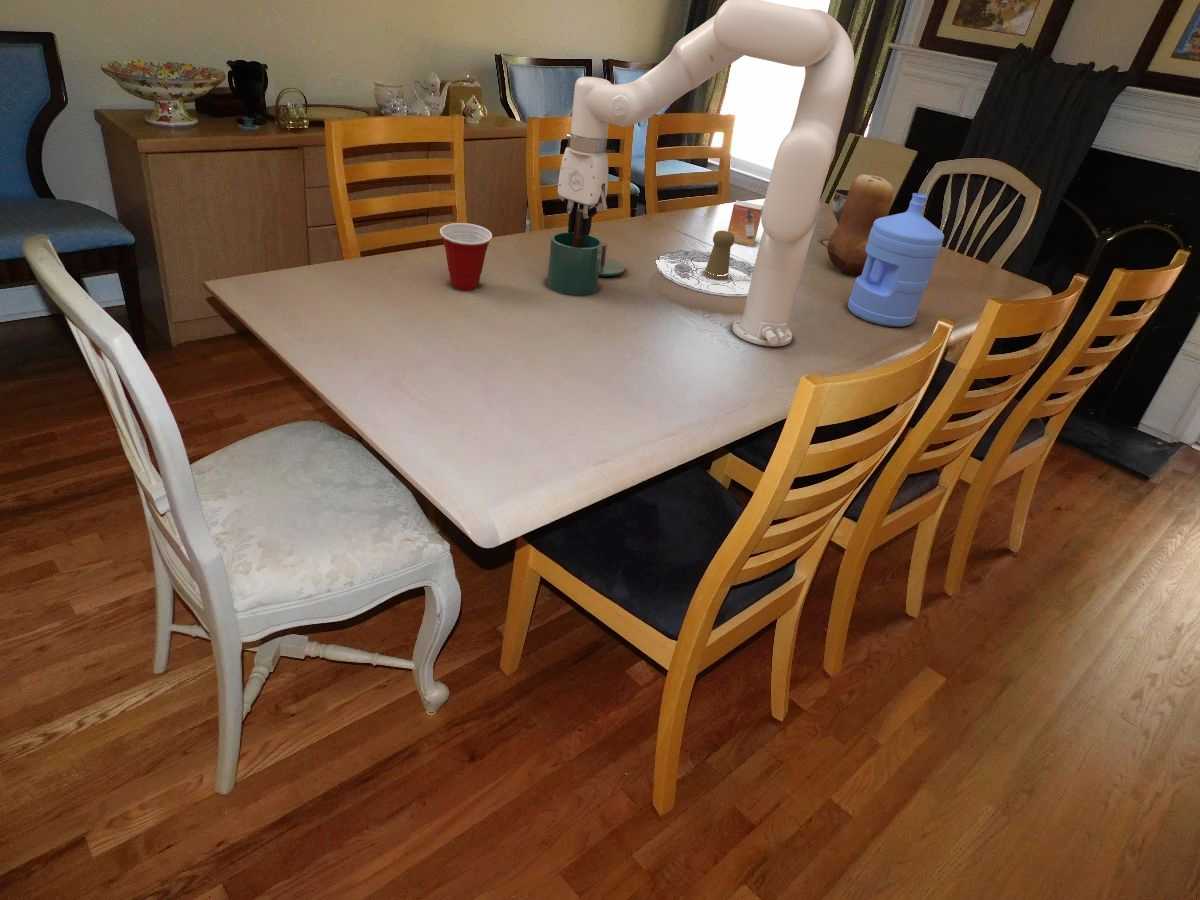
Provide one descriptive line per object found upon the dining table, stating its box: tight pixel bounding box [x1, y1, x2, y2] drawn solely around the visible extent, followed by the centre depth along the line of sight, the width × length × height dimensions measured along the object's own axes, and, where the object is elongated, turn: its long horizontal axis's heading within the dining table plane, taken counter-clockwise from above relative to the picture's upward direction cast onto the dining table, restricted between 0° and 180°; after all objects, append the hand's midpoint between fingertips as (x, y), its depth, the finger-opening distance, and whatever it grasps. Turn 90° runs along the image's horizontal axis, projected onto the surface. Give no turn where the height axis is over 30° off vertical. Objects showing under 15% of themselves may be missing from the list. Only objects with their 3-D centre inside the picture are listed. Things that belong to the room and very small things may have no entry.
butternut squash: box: [826, 173, 895, 276], centre depth 201 cm, size 14×13×25 cm
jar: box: [546, 231, 604, 296], centre depth 171 cm, size 11×11×10 cm
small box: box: [727, 199, 764, 247], centre depth 216 cm, size 8×6×10 cm
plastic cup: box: [439, 222, 493, 291], centre depth 162 cm, size 11×11×12 cm
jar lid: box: [599, 242, 626, 277], centre depth 183 cm, size 12×12×6 cm
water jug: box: [847, 192, 945, 328], centre depth 174 cm, size 16×16×28 cm
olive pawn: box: [703, 230, 735, 281], centre depth 188 cm, size 6×6×11 cm
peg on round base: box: [572, 208, 583, 248], centre depth 168 cm, size 4×4×16 cm
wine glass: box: [822, 189, 850, 246], centre depth 224 cm, size 8×8×15 cm
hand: (578, 232), depth 166 cm, fingers closed on peg on round base, 2 cm apart
